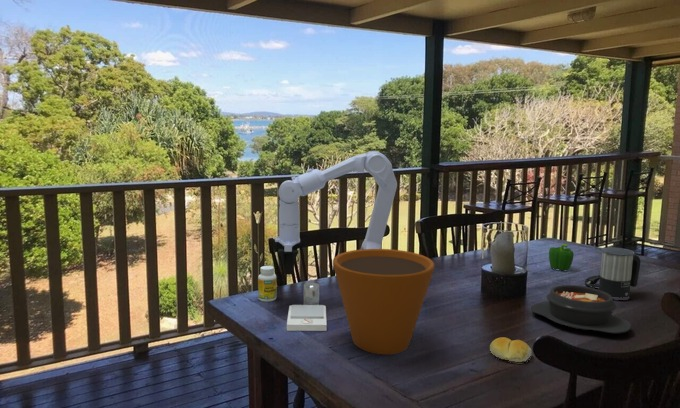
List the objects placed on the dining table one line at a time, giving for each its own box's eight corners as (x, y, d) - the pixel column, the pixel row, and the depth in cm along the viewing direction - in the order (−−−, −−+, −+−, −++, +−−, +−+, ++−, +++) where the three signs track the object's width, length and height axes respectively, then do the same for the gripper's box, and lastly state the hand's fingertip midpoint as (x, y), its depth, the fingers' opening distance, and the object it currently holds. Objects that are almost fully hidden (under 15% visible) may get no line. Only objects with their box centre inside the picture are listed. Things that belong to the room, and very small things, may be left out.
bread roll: (495, 345, 127) (496, 329, 126) (533, 355, 122) (535, 338, 121) (484, 357, 120) (485, 341, 119) (524, 368, 115) (526, 351, 115)
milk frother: (622, 303, 158) (627, 255, 156) (571, 290, 170) (575, 245, 168) (640, 294, 168) (645, 249, 165) (590, 282, 179) (594, 239, 177)
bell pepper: (545, 266, 199) (547, 240, 197) (568, 267, 198) (570, 241, 196) (550, 272, 191) (553, 245, 189) (574, 273, 190) (577, 246, 188)
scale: (325, 311, 147) (325, 303, 146) (326, 330, 133) (326, 322, 133) (289, 310, 146) (289, 303, 146) (286, 330, 132) (286, 322, 132)
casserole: (518, 319, 144) (521, 289, 143) (546, 303, 157) (549, 276, 156) (617, 347, 127) (621, 314, 126) (639, 326, 140) (643, 296, 139)
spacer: (318, 302, 154) (319, 282, 153) (319, 307, 149) (319, 287, 148) (303, 302, 154) (304, 282, 153) (303, 307, 149) (303, 287, 148)
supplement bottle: (271, 294, 160) (271, 264, 158) (279, 300, 155) (279, 268, 154) (255, 297, 157) (255, 266, 155) (263, 303, 152) (262, 270, 151)
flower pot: (448, 356, 120) (453, 271, 117) (348, 368, 113) (350, 278, 110) (406, 318, 142) (409, 246, 139) (320, 326, 135) (321, 251, 132)
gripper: (277, 218, 155) (277, 263, 157) (272, 228, 141) (273, 277, 143) (301, 218, 155) (301, 263, 157) (299, 228, 141) (299, 277, 143)
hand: (289, 270), depth 150 cm, fingers open, 7 cm apart
